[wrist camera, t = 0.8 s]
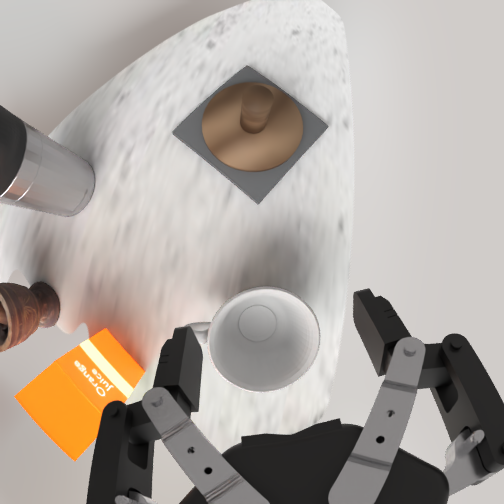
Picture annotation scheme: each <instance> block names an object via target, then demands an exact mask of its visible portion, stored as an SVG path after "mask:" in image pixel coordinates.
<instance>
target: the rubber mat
mask: <svg viewBox="0 0 504 504" xmlns="http://www.w3.org/2000/svg"><path fill="white" fill-rule="evenodd" d="M245 82H256V83H263V84H267V85H270V86H273V87H275V88H277V89H279V90H280V91H282V92H283V93H285V94H286V95H287V96H288V97H290V98H291V100H292V101H293V102H294V103H295V105H296V106H297V108H298V110H299V111H300V114H301V117H302V121H303V135H302V139H301V141H300V144H299V146H298V148H297V149H296V151H295V152H294V154H293V155H292V156H291V157H290V158H289V159H288V160H287V161H286V162H284V163H283V164H282V165H280V166H278V167H276V168H273V169H271V170H267V171H262V172H246V171H240V170H236V169H234V168H231V167H229V166H227V165H225V164H224V163H222V162H221V161H219V160H218V159H217V158H216V157H215V156H214V155H213V154H212V153H211V151H210V150H209V148H208V147H207V145H206V143H205V140H204V136H203V132H202V118H203V113H204V111H205V108H206V106H207V105H208V103H209V102H210V100H211V99H212V98H213V97H214V96H215V95H216V94H217V93H219V92H220V91H221V90H223V89H225V88H227V87H229V86H232V85H235V84H239V83H245ZM327 128H328V126H327V125H326V124H325V123H324V122H323V121H321V120H320V119H319V118H318V117H317V116H315V115H314V114H313V113H312V112H310V111H309V110H308V109H307V108H305V107H304V106H303V105H302V104H300V103H299V102H298V101H297V100H295V99H294V98H293V97H291V96H290V95H289V94H287V93H286V92H285V91H283V90H282V89H281V88H279V87H278V86H276V85H275V84H274V83H272V82H271V81H269V80H268V79H267V78H265V77H264V76H262V75H261V74H259V73H258V72H256V71H255V70H253V69H252V68H250V67H249V66H245V67H244V68H243V69H242V70H240V71H239V72H238V73H237V74H235V75H234V76H233V77H232V78H231V79H229V80H228V81H227V82H226V83H225V84H223V85H222V86H221V87H220V88H219V89H218V90H216V91H215V92H214V93H213V94H212V95H211V96H210V97H209V98H207V99H206V100H205V101H204V102H203V103H202V104H201V105H200V106H199V107H198V108H196V109H195V110H194V111H193V112H192V113H191V114H190V115H189V116H188V117H187V118H186V119H185V120H184V121H183V122H182V123H181V124H180V125H179V126H178V127H177V128H176V129H175V130H174V131H173V132H172V133H173V135H175V136H176V137H177V138H178V139H180V140H181V141H182V142H183V143H185V144H186V145H187V146H188V147H190V148H191V149H192V150H193V151H195V152H196V153H197V154H198V155H199V156H201V157H202V158H203V159H204V160H206V161H207V162H208V163H209V164H210V165H212V166H213V167H214V168H215V169H217V170H218V171H219V172H220V173H221V174H223V175H224V176H225V177H226V178H227V179H229V180H230V181H231V182H232V183H233V184H235V185H236V186H237V187H238V188H239V189H240V190H242V191H243V192H244V193H245V194H246V195H248V196H249V197H250V198H251V199H252V200H253V201H255V202H256V203H257V204H259V203H260V202H261V201H262V200H263V198H264V197H265V196H266V195H267V194H268V193H269V192H270V191H271V189H272V188H273V187H274V186H275V185H276V184H277V183H278V182H279V181H280V179H281V178H282V177H283V176H284V175H285V174H286V173H287V172H288V171H289V169H290V168H291V167H292V166H293V165H294V164H295V163H296V162H297V161H298V159H299V158H300V157H301V156H302V155H303V154H304V153H305V152H306V151H307V150H308V149H309V147H310V146H311V145H312V144H313V143H314V142H315V141H316V140H317V139H318V138H319V137H320V136H321V134H322V133H323V132H324V131H325V130H326V129H327Z"/></svg>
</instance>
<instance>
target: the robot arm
mask: <svg viewBox="0 0 504 504" xmlns="http://www.w3.org/2000/svg"><path fill="white" fill-rule="evenodd" d="M94 183H95V179H94V173H93V170H92V168H91V166H90V165H89V164H88V163H87V162H86V161H85V160H83V159H82V158H80V157H79V156H77V155H75V154H74V153H72V152H71V151H69V150H68V149H66V148H65V147H63V146H61V145H60V144H58V143H57V142H55V141H54V140H52V139H51V138H49V137H47V136H46V135H44V134H43V133H41V132H40V131H38V130H37V129H35V128H33V127H32V126H30V125H28V124H27V123H25V122H24V121H22V120H21V119H19V118H18V117H16V116H15V115H13V114H12V113H10V112H9V111H8V110H6V109H5V108H3V107H2V106H1V105H0V203H3V204H8V205H13V206H18V207H22V208H27V209H32V210H36V211H41V212H46V213H50V214H55V215H60V216H67V217H69V216H73V215H75V214H77V213H79V212H80V211H81V210H83V208H84V207H85V206H86V205H87V204H88V202H89V200H90V198H91V196H92V194H93V190H94ZM353 299H354V300H353V304H354V305H353V318H354V323H355V326H356V328H357V331H358V333H359V335H360V337H361V339H362V341H363V343H364V346H365V348H366V350H367V352H368V354H369V356H370V359H371V361H372V363H373V366H374V368H375V370H376V372H377V375H378V376H382V375H386V376H385V380H384V382H383V383H382V385H381V387H380V390H379V393H378V396H377V398H376V400H375V403H374V405H373V408H372V410H371V412H370V415H369V417H368V419H367V422H366V424H365V426H364V427H361V426H358V425H353V424H341V421H340V419H335V420H331V421H327V422H323V423H319V424H315V425H313V426H311V427H308V428H306V429H304V430H302V431H300V432H297V433H295V434H292V435H280V434H259V435H251V436H242V437H241V440H242V443H239V444H237V445H235V446H233V447H231V448H229V449H228V450H226V451H225V452H224V453H223V454H221V453H220V452H219V451H218V450H217V449H216V448H215V447H214V446H213V445H212V444H211V443H210V441H209V440H208V439H207V438H206V437H205V436H204V435H203V433H202V432H201V431H200V430H199V429H198V428H197V426H196V425H195V424H194V423H193V422H192V420H191V419H190V416H191V412H198V411H199V397H200V384H201V372H202V361H203V354H202V349H201V346H200V344H199V342H198V340H197V338H196V336H195V334H194V332H193V330H192V328H191V327H190V326H186V327H179V328H175V330H174V333H173V338H172V339H167V341H166V342H165V344H164V345H163V347H162V349H161V353H160V358H159V364H158V367H157V371H156V376H155V380H154V385H153V388H152V389H150V390H149V391H147V392H146V393H145V395H144V396H143V399H142V400H141V401H139V402H136V403H132V404H129V405H126V404H125V403H124V402H122V401H119V400H114V401H111V402H110V403H108V404H107V405H106V406H105V407H104V409H103V411H102V415H101V420H100V424H99V429H98V434H97V439H96V444H95V449H94V454H93V460H92V466H91V473H90V479H89V486H88V494H87V503H86V504H157V503H156V502H155V501H154V500H152V499H151V495H152V472H153V456H154V442H155V440H159V439H161V440H162V442H163V443H164V445H165V446H166V448H167V449H168V451H169V452H170V453H171V455H172V456H173V458H174V459H175V460H176V462H177V463H178V464H179V466H180V467H181V468H182V470H183V471H184V472H185V474H186V475H187V476H188V477H189V479H190V480H191V481H192V482H193V484H194V485H195V486H194V488H193V489H192V490H191V491H190V492H189V493H188V494H187V495H186V497H185V498H184V499H183V500H182V501H181V502H180V503H179V504H447V501H448V497H449V496H450V495H452V494H454V493H456V492H458V491H460V490H462V489H464V488H466V487H468V486H469V485H477V484H479V483H481V482H482V481H484V480H486V479H488V478H489V477H491V476H492V475H494V474H496V473H497V472H499V471H500V470H502V469H503V468H504V403H503V401H502V399H501V397H500V395H499V393H498V391H497V390H496V388H495V386H494V384H493V382H492V380H491V379H490V377H489V375H488V373H487V372H486V370H485V368H484V366H483V365H482V363H481V361H480V359H479V358H478V356H477V355H476V353H475V351H474V350H473V348H472V346H471V345H470V343H469V342H468V341H467V339H466V338H465V337H464V336H462V335H460V334H449V335H447V336H446V337H445V338H444V339H443V341H442V343H436V344H423V343H422V341H421V340H419V339H417V338H414V337H412V336H411V335H410V333H409V332H408V330H407V329H406V327H405V326H404V324H403V322H402V321H401V319H400V318H399V316H397V313H396V311H395V310H394V309H393V307H392V305H391V304H390V302H389V301H388V300H386V299H385V298H383V297H382V296H378V297H375V296H374V295H373V293H372V292H371V290H370V289H364V290H360V291H356V292H354V295H353ZM423 388H430V390H431V392H432V394H433V397H434V399H435V401H436V404H437V406H438V408H439V411H440V413H441V416H442V418H443V421H444V423H445V426H446V429H447V431H448V434H449V437H450V440H451V442H452V443H451V444H450V445H449V447H448V448H447V451H446V454H445V458H446V466H445V469H444V471H443V472H442V471H441V470H440V469H438V468H437V467H435V466H433V465H431V464H429V463H427V462H425V461H423V460H421V459H419V458H417V457H416V456H414V455H412V454H410V453H408V452H406V451H405V450H403V449H401V448H399V445H400V443H401V440H402V438H403V434H404V432H405V429H406V426H407V423H408V420H409V417H410V414H411V411H412V407H413V404H414V401H415V397H416V394H417V389H423Z"/></svg>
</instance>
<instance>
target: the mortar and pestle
mask: <svg viewBox="0 0 504 504" xmlns="http://www.w3.org/2000/svg"><path fill="white" fill-rule="evenodd" d="M59 310H60V307H59V300H58V297H57V295H56V293H55V292H54V290H53V289H52V288H51V287H50V286H49V285H47V284H46V283H44V282H36V283H34V284H33V285H32V286H31V287H30V288H29V289H28V288H27V287H25V286H21V285H18V284H14V283H0V352H3V351H5V350H7V349H9V348H11V347H13V346H15V345H18V344H20V343H21V342H23V341H25V340H26V339H27V338H28V337H29V336H30V335H31V334H33V333H34V332H35V331H36V330H37V328H38V327H41V328H48V327H51V326H54V325H55V323H56V322H57V320H58V317H59Z"/></svg>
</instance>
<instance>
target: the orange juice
mask: <svg viewBox="0 0 504 504" xmlns="http://www.w3.org/2000/svg"><path fill="white" fill-rule="evenodd" d="M144 373H145V371H144V370H143V369H142V368H141V367H140V366H139V365H138V364H137V363H136V362H135V361H134V359H133V358H132V357H131V356H130V355H129V354H128V353H127V352H126V351H125V350H124V349H123V347H122V346H121V345H120V344H119V343H118V342H117V341H116V339H115V338H114V337H113V336H112V335H111V334H110V332H109V331H108V330H107V329H106V328H105V329H103V330H102V331H100V332H99V333H97V334H96V335H94V336H92V337H91V338H89V339H87V340H86V341H84V342H82V343H81V344H79V345H78V346H77V347H75V348H74V349H72V350H71V351H69V352H68V353H66V354H65V355H64V356H62V357H60V358H59V359H57V360H56V361H54V362H53V363H52V364H51V365H50V366H49V367H48V368H47V369H45V370H44V371H43V372H42V373H41V374H39V375H38V376H37V377H36V378H35V379H34V380H33V381H31V382H30V383H29V384H28V385H27V386H26V387H25V388H23V389H22V390H21V391H20V392H19V393H18V394H17V395H15V396H14V397H15V398H16V399H17V400H18V402H19V403H20V404H21V405H22V407H23V408H24V409H25V410H26V412H27V413H28V414H29V415H30V416H31V417H32V419H33V420H34V421H35V422H36V423H37V424H38V425H39V426H40V427H41V429H42V430H43V431H44V432H45V433H46V434H47V435H48V436H49V437H50V438H51V439H52V440H53V441H54V442H55V443H56V444H57V445H58V446H59V447H60V448H61V449H62V450H63V451H64V452H65V453H66V454H67V455H68V456H69V457H70V458H71V459H73V460H74V461H76V460H77V458H78V457H79V456H80V455H81V454H82V453H83V452H84V451H85V450H86V449H87V448H88V447H89V445H90V444H91V443H92V442H93V441H94V440H95V438H97V434H98V429H99V424H100V420H101V415H102V411H103V409H104V407H105V406H106V405H107V404H108V403H110V402H111V401H114V400H119V401H122V402H124V403H125V401H126V400H127V398H128V397H129V396H130V394H131V393H132V391H133V390H134V388H135V386H136V385H137V383H138V382H139V380H140V379H141V377H142V376H143V374H144Z"/></svg>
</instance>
